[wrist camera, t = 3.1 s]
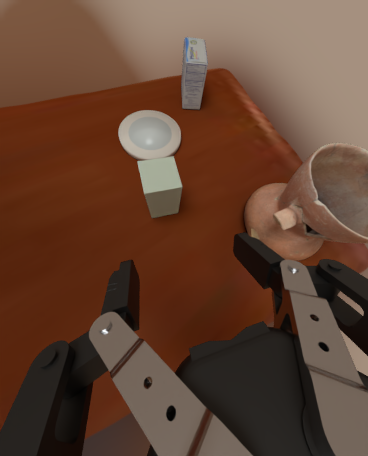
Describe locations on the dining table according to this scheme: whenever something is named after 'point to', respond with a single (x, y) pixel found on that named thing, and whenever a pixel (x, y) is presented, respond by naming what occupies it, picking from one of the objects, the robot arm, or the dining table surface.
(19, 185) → the dining table surface
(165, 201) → the sage block
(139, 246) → the dining table surface
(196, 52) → the medicine box
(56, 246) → the dining table surface
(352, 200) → the ceramic jug
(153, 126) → the dish
